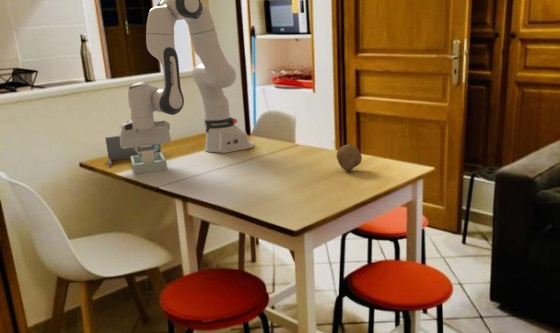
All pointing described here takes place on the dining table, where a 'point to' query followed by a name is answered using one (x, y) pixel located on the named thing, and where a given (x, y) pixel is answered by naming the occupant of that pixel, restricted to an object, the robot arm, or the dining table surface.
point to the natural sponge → (349, 157)
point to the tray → (148, 164)
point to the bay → (118, 149)
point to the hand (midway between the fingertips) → (147, 156)
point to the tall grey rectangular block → (147, 154)
